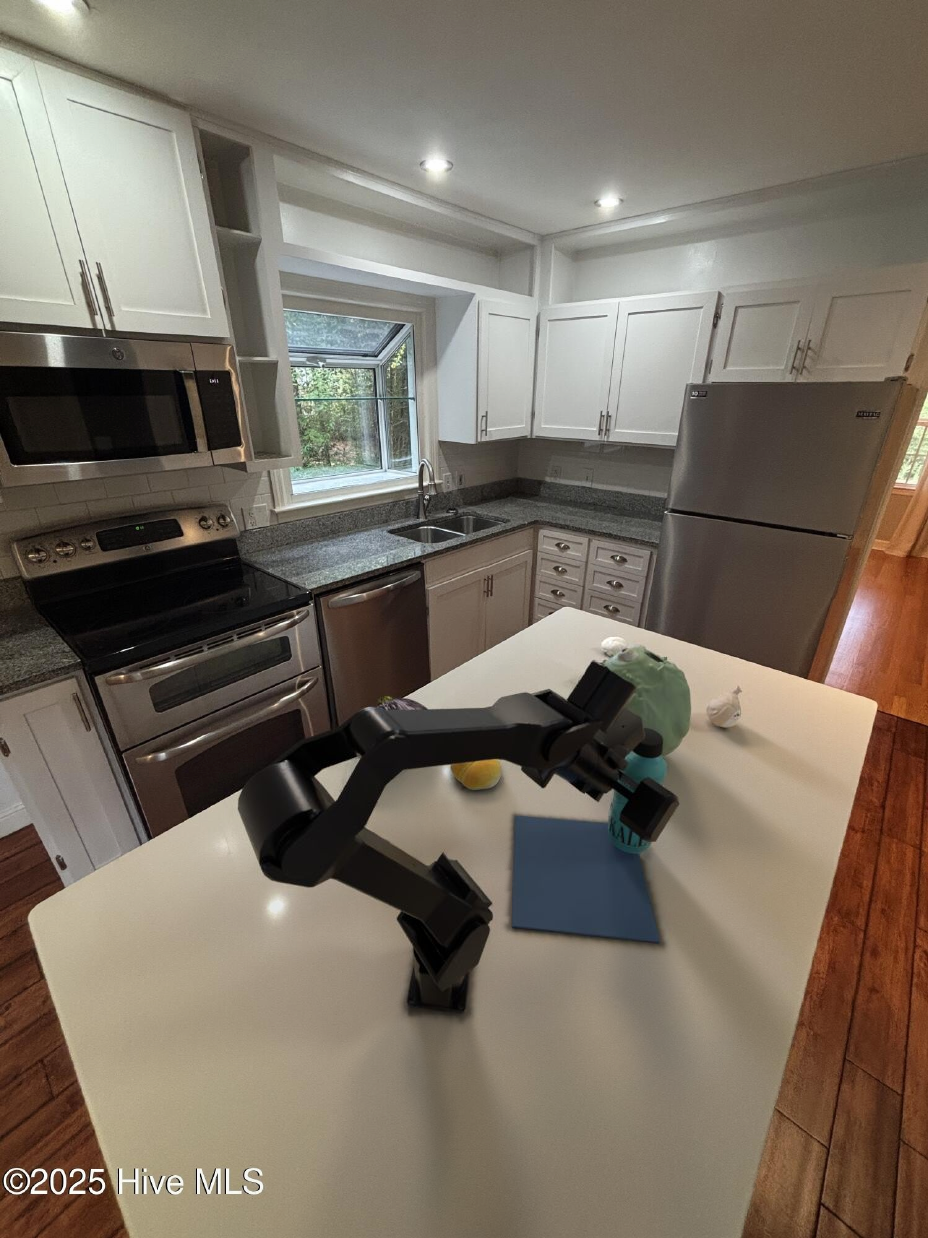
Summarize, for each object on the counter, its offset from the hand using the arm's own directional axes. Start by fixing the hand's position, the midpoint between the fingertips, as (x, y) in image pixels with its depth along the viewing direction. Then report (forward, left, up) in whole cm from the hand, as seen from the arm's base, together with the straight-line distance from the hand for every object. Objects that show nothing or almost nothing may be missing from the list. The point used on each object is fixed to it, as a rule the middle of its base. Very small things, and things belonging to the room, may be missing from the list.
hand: (623, 790), depth 68 cm
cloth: (-4, +6, -11) cm, 13 cm away
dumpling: (+62, -9, -12) cm, 64 cm away
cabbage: (+24, -7, -12) cm, 28 cm away
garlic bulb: (+34, -26, -12) cm, 44 cm away
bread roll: (+14, +22, -12) cm, 28 cm away
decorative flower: (+20, +38, -12) cm, 44 cm away
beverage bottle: (+1, -2, -11) cm, 12 cm away
